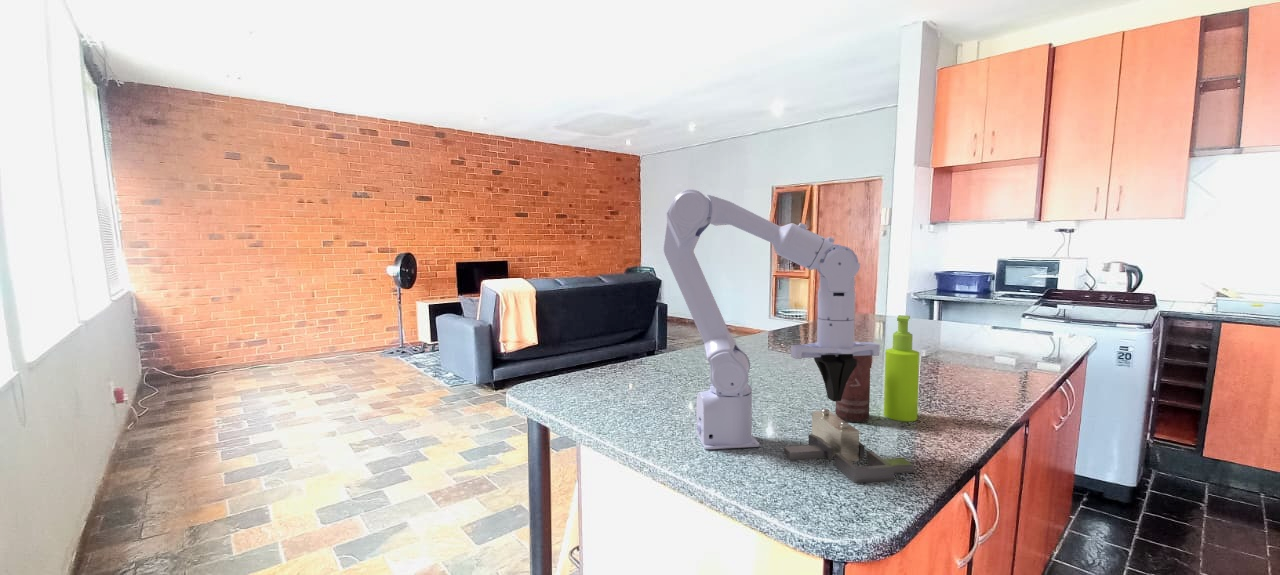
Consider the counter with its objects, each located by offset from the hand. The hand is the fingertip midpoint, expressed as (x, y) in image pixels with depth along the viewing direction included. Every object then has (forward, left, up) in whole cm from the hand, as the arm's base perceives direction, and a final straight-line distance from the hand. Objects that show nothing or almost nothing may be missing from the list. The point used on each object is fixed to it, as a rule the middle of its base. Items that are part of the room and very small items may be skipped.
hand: (834, 399), depth 82 cm
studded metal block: (0, 0, -9) cm, 9 cm away
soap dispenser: (+21, +14, -9) cm, 27 cm away
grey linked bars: (0, -5, -8) cm, 10 cm away
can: (+11, +14, -9) cm, 20 cm away
